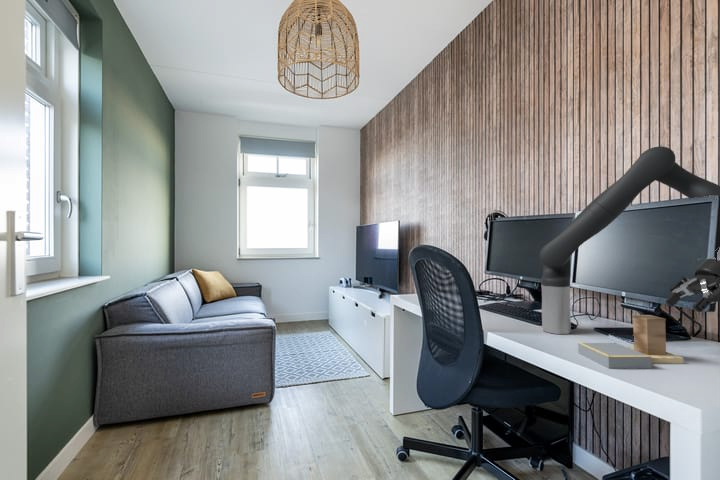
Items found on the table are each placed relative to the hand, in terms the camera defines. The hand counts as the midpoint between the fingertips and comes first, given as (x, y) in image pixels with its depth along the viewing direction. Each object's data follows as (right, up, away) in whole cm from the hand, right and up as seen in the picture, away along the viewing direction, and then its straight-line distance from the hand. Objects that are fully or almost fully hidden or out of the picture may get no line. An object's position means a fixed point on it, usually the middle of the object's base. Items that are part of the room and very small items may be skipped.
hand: (681, 307), depth 98 cm
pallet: (-9, -14, 0) cm, 17 cm away
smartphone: (-1, -15, +16) cm, 22 cm away
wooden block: (-9, -13, 0) cm, 16 cm away
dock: (-21, -15, -2) cm, 26 cm away
